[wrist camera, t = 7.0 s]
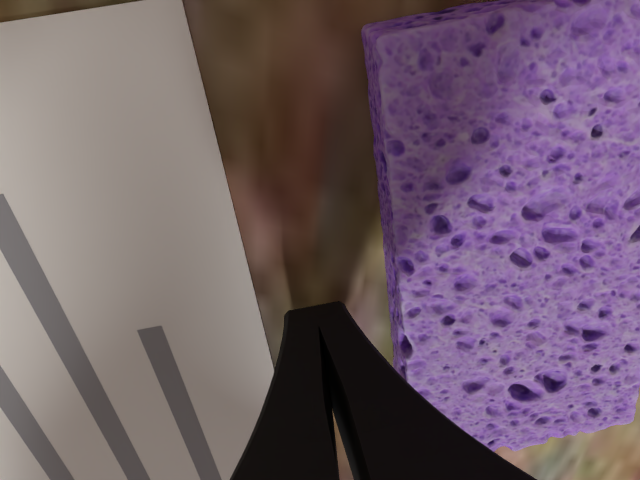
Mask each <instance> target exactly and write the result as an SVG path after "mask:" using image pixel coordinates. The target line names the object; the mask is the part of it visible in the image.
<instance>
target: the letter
mask: <svg viewBox="0 0 640 480" xmlns="http://www.w3.org/2000/svg"><path fill="white" fill-rule="evenodd" d="M273 374H274V367H273V363H272V359H271V355H270V351H269V347H268V343H267V339H266V335H265V331H264V327H263V323H262V319H261V315H260V311H259V307H258V303H257V299H256V295H255V291H254V287H253V283H252V279H251V275H250V271H249V267H248V263H247V259H246V255H245V251H244V247H243V243H242V239H241V235H240V231H239V227H238V223H237V219H236V215H235V211H234V207H233V203H232V199H231V195H230V191H229V187H228V183H227V179H226V175H225V171H224V167H223V163H222V159H221V155H220V151H219V147H218V143H217V139H216V134H215V130H214V126H213V122H212V118H211V114H210V110H209V106H208V102H207V98H206V94H205V90H204V86H203V82H202V78H201V74H200V70H199V66H198V62H197V58H196V54H195V50H194V46H193V42H192V38H191V34H190V30H189V26H188V22H187V18H186V14H185V10H184V6H183V2H182V0H142V1H136V2H129V3H123V4H116V5H110V6H104V7H97V8H91V9H84V10H78V11H72V12H65V13H59V14H52V15H46V16H40V17H33V18H27V19H20V20H14V21H8V22H1V23H0V480H230V478H231V476H232V474H233V472H234V470H235V468H236V466H237V464H238V462H239V460H240V458H241V456H242V454H243V452H244V450H245V448H246V445H247V443H248V441H249V439H250V437H251V434H252V432H253V430H254V427H255V425H256V422H257V420H258V418H259V415H260V412H261V410H262V407H263V404H264V401H265V398H266V395H267V393H268V390H269V387H270V384H271V381H272V378H273Z"/></svg>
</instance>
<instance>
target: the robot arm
mask: <svg viewBox="0 0 640 480" xmlns="http://www.w3.org/2000/svg"><path fill="white" fill-rule="evenodd" d="M332 409H333V412H332ZM333 413H334V416H335V419H336V422H337V426H338V429H339V432H340V435H341V439H342V442H343V445H344V448H345V452H346V455H347V458H348V461H349V465H350V468H351V471H352V474H353V478H354V480H537V479H535V478H533V477H532V476H530V475H529V474H527V473H525V472H524V471H522V470H521V469H519V468H517V467H516V466H514V465H513V464H511V463H510V462H508V461H506V460H505V459H503V458H502V457H500V456H499V455H498V454H496V453H495V452H493V451H492V450H491V449H489V448H488V447H486V446H485V445H483V444H482V443H481V442H479V441H478V440H476V439H475V438H474V437H472V436H471V435H469V434H468V433H466V432H465V431H464V430H462V429H461V428H460V427H459V426H457V425H456V424H455V423H454V422H452V421H451V420H450V419H449V418H447V417H446V416H445V415H444V414H442V413H441V412H440V411H439V410H438V409H436V408H435V407H434V406H433V405H432V404H431V403H429V402H428V401H427V400H426V399H425V398H424V397H423V396H422V395H420V394H419V393H418V392H417V391H416V390H415V389H414V388H413V387H412V386H411V385H410V384H409V383H408V382H407V381H406V380H405V379H404V378H403V377H402V376H401V375H400V374H399V373H398V372H397V371H396V370H395V369H394V368H393V367H392V366H391V365H390V364H389V363H388V362H387V360H386V359H385V358H384V357H383V356H382V355H381V353H380V352H379V351H378V350H377V349H376V348H375V347H374V345H373V344H372V343H371V342H370V341H369V339H368V338H367V337H366V336H365V334H364V333H363V332H362V330H361V329H360V328H359V326H358V325H357V324H356V322H355V321H354V319H353V318H352V316H351V315H350V313H349V312H348V310H347V308H346V306H345V305H344V304H343V303H342V302H340V301H337V302H332V303H326V304H321V305H316V306H311V307H305V308H300V309H295V310H290V311H288V312H287V313H286V314H285V315H284V330H283V337H282V342H281V347H280V351H279V356H278V359H277V363H276V367H275V370H274V374H273V378H272V381H271V384H270V387H269V390H268V393H267V395H266V398H265V401H264V404H263V407H262V410H261V412H260V415H259V418H258V420H257V422H256V425H255V427H254V430H253V432H252V434H251V437H250V439H249V441H248V443H247V445H246V448H245V450H244V452H243V454H242V456H241V458H240V460H239V462H238V464H237V466H236V468H235V470H234V472H233V474H232V476H231V478H230V480H339V470H338V460H337V451H336V441H335V431H334V422H333Z"/></svg>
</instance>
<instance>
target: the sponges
mask: <svg viewBox="0 0 640 480" xmlns="http://www.w3.org/2000/svg"><path fill="white" fill-rule="evenodd" d="M361 36H362V41H363V46H364V52H365V65H366V70H367V77H368V81H369V83H368V97H369V106H370V114H371V122H372V127H373V131H374V158H375V162H376V172H377V177H378V196H379V202H380V214H381V225H382V230H383V250H384V255H385V268H386V278H387V292H388V299H389V312H390V322H391V338H392V341H393V346H394V349H393V351H394V358H393V365H394V369H395V370H396V371H397V372H398V373H399V374H400V375H401V376H402V377H403V378H404V379H405V380H406V381H407V382H408V383H409V384H410V385H411V386H412V387H413V388H414V389H415V390H416V391H417V392H418V393H419V394H420V395H422V396H423V397H424V398H425V399H426V400H427V401H428V402H429V403H431V404H432V405H433V406H434V407H435V408H436V409H438V410H439V411H440V412H441V413H442V414H444V415H445V416H446V417H447V418H449V419H450V420H451V421H452V422H454V423H455V424H456V425H457V426H459V427H460V428H461V429H462V430H464V431H465V432H466V433H468V434H469V435H471V436H472V437H474V438H475V439H476V440H478V441H479V442H481V443H482V444H483V445H485V446H486V447H488V448H489V449H491V450H492V451H493V452H494V451H495V450H496V449H497V448H499V447H501V446H506V447H508V448H510V449H511V450H512V451H518V450H520V449H522V448H525V447H528V446H531V445H537V444H544V443H546V442H547V440H548V438H549V437H559V438H563V437H565V436H566V435H568V434H569V435H576V434H577V433H578V432H579V431H582V432H584V433H593V432H596V431H599V430H603V429H606V428H607V427H610V426H613V425H623V424H629V423H631V422H632V421H633V420H634V415H635V411H636V408H635V404H636V401H637V399H638V395H639V386H640V0H499V1H491V2H482V3H470V4H465V5H460V6H455V7H451V8H447V9H444V10H442V11H440V12H430V13H420V14H415V15H409V16H404V17H399V18H395V19H391V20H386V21H381V22H375V23H369V24H366V25H364V26H363V28H362V30H361Z"/></svg>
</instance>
